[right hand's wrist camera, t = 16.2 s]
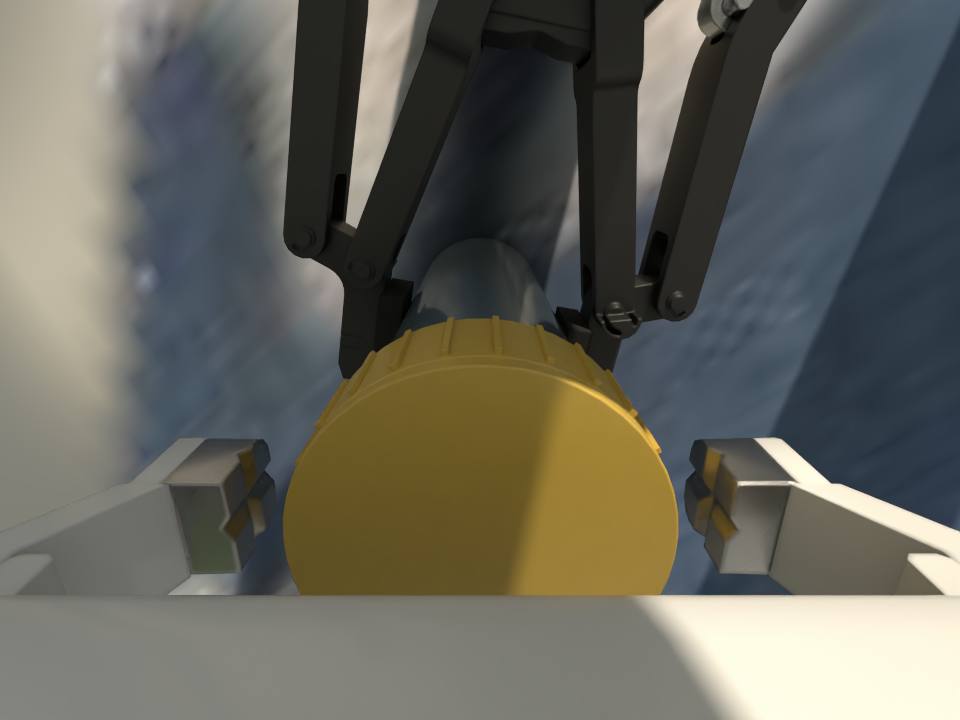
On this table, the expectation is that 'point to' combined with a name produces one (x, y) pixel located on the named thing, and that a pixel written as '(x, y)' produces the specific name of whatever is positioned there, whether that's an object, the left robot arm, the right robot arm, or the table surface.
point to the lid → (480, 474)
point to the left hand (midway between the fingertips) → (456, 470)
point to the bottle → (480, 288)
